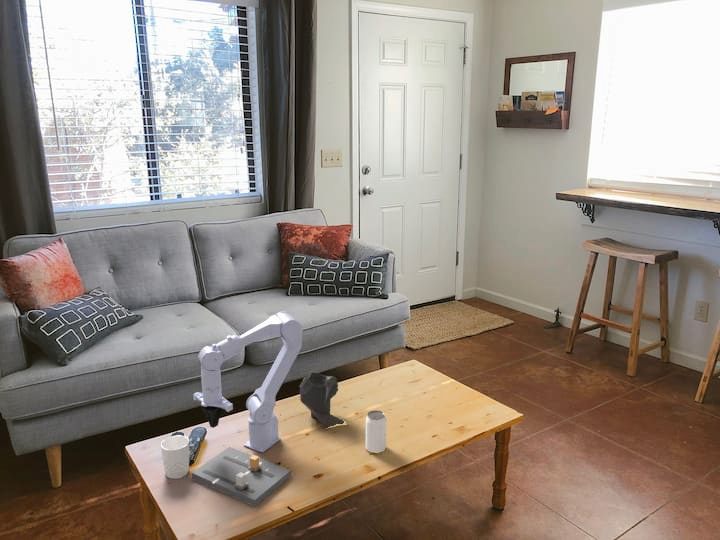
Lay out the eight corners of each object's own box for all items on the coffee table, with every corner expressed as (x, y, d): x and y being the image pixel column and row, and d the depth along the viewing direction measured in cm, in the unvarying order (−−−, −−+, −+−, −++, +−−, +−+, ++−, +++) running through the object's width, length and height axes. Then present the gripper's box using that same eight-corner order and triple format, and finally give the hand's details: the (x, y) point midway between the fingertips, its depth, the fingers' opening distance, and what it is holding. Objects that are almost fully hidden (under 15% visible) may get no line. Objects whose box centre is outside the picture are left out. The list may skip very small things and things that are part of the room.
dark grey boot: (333, 404, 216) (333, 359, 212) (348, 424, 203) (348, 376, 198) (295, 411, 211) (294, 365, 207) (308, 432, 198) (307, 383, 193)
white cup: (180, 461, 181) (178, 432, 178) (196, 471, 176) (194, 441, 173) (158, 473, 175) (155, 443, 172) (173, 483, 170) (170, 453, 167)
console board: (229, 452, 186) (229, 446, 185) (290, 476, 174) (290, 470, 173) (190, 479, 172) (190, 473, 172) (253, 507, 160) (253, 500, 160)
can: (387, 444, 191) (388, 411, 188) (383, 455, 185) (383, 421, 182) (368, 441, 192) (368, 408, 189) (363, 452, 186) (363, 418, 183)
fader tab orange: (254, 464, 176) (253, 453, 175) (261, 467, 174) (261, 456, 173) (247, 468, 173) (247, 458, 172) (255, 471, 172) (255, 461, 171)
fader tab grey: (240, 481, 167) (240, 470, 167) (248, 484, 166) (248, 473, 165) (233, 486, 165) (233, 475, 164) (242, 490, 164) (241, 479, 163)
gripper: (184, 385, 179) (187, 425, 182) (220, 396, 172) (222, 438, 175) (201, 376, 185) (204, 415, 188) (236, 387, 178) (238, 427, 181)
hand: (214, 425), depth 182 cm, fingers closed
